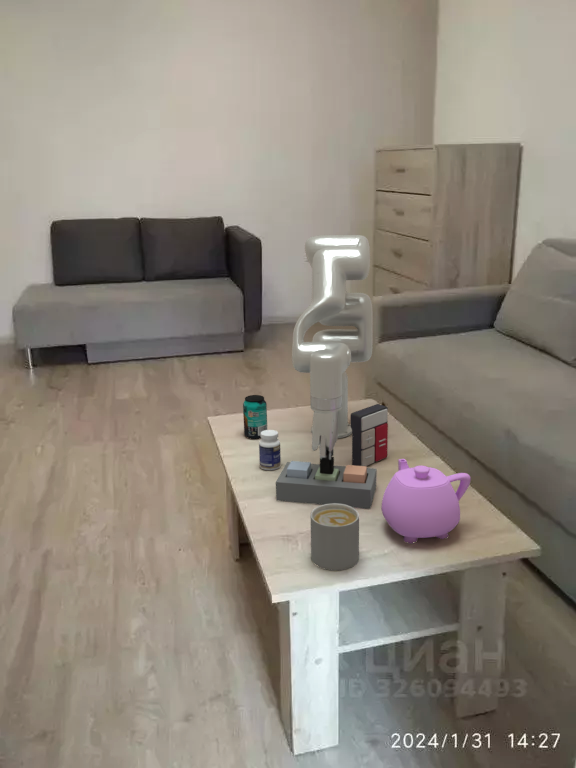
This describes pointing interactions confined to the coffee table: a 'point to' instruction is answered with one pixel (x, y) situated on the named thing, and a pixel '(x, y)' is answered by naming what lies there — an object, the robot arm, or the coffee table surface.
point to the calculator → (369, 435)
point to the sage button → (327, 475)
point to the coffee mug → (335, 536)
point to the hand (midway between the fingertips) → (326, 472)
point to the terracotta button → (355, 474)
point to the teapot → (422, 502)
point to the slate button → (299, 469)
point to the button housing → (326, 489)
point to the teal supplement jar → (254, 416)
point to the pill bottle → (269, 450)
